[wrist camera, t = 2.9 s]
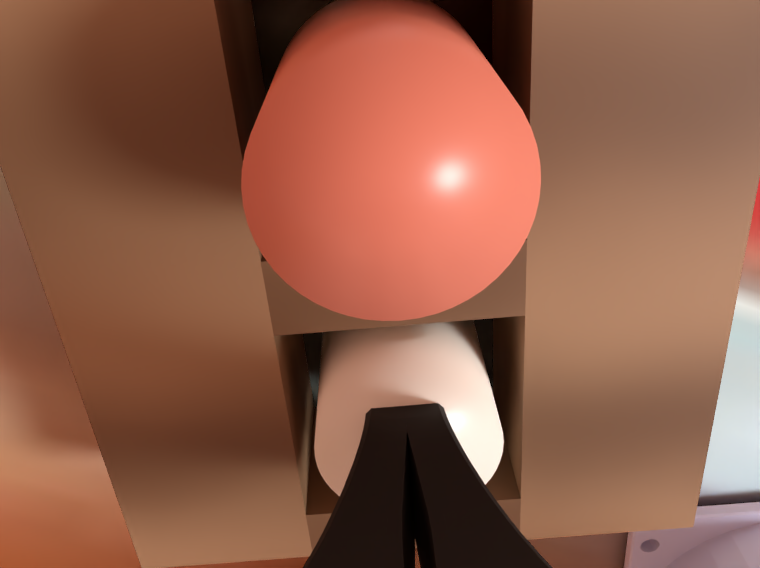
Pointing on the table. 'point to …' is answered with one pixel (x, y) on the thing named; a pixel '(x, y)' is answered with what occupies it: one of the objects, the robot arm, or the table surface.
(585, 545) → the table surface
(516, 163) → the salmon pink egg
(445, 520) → the robot arm
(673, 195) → the light brown rack
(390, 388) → the cream plug
